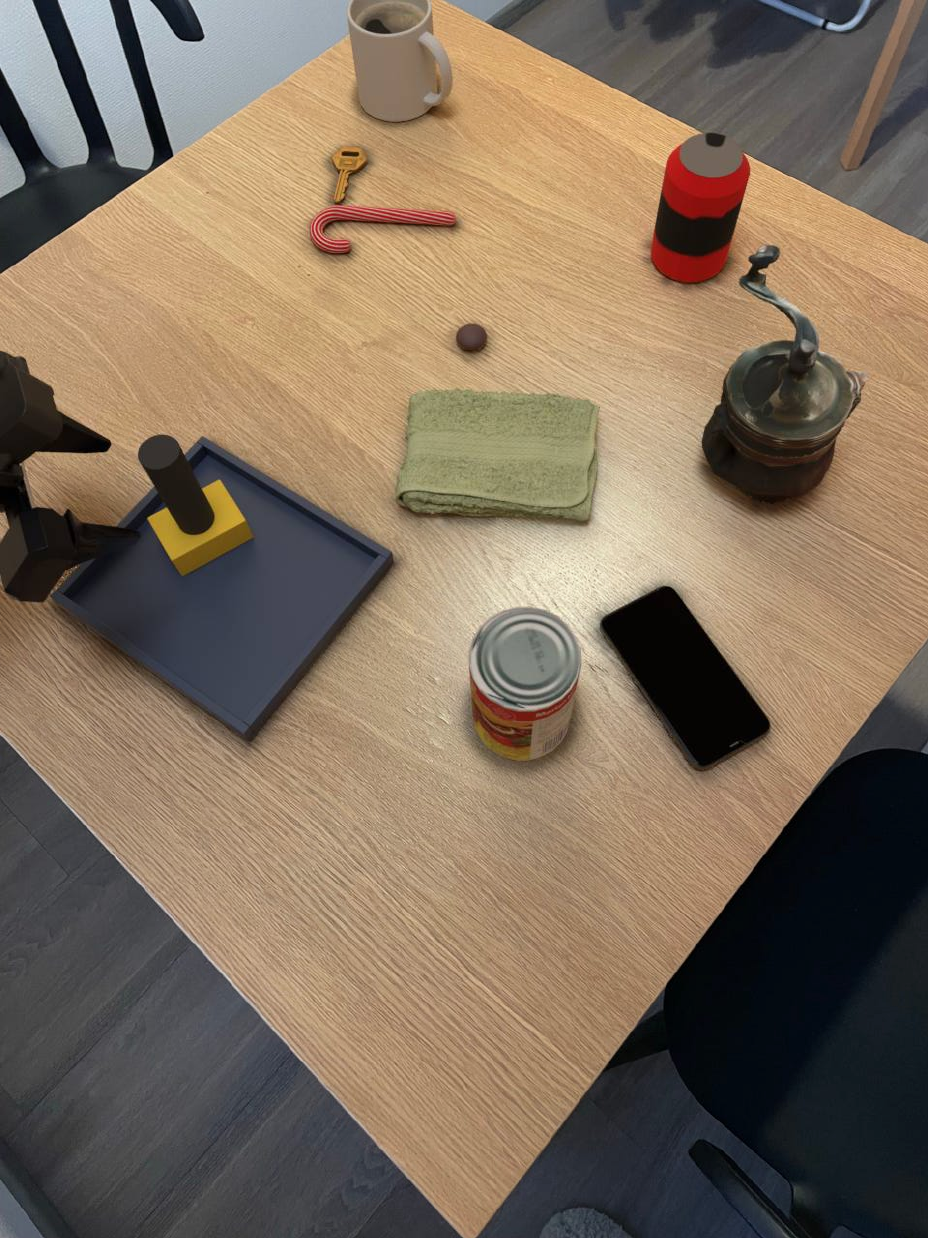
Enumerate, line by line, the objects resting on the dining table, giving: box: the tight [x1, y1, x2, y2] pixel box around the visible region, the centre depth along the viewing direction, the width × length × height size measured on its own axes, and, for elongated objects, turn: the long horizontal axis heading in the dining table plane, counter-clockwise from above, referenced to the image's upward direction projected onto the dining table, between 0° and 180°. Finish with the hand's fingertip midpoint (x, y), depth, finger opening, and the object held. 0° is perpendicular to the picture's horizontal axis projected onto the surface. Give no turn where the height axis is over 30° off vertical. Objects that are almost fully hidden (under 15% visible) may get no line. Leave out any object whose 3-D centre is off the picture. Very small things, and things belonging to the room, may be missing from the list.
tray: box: [49, 435, 395, 743], centre depth 83 cm, size 20×22×2 cm
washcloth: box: [394, 388, 601, 522], centre depth 87 cm, size 13×18×3 cm
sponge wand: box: [137, 433, 253, 576], centre depth 80 cm, size 7×5×13 cm
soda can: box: [650, 132, 751, 283], centre depth 93 cm, size 8×8×12 cm
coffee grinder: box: [701, 244, 868, 506], centre depth 80 cm, size 13×15×18 cm
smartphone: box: [599, 585, 772, 771], centre depth 79 cm, size 7×1×15 cm
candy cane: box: [308, 204, 457, 254], centre depth 100 cm, size 6×15×2 cm, turn 84°
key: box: [331, 146, 368, 204], centre depth 104 cm, size 4×8×1 cm, turn 173°
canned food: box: [468, 606, 582, 762], centre depth 73 cm, size 8×8×12 cm
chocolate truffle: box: [455, 322, 488, 351], centre depth 94 cm, size 3×3×2 cm
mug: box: [346, 0, 454, 123], centre depth 105 cm, size 11×10×10 cm
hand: (123, 491), depth 76 cm, fingers open, 9 cm apart
